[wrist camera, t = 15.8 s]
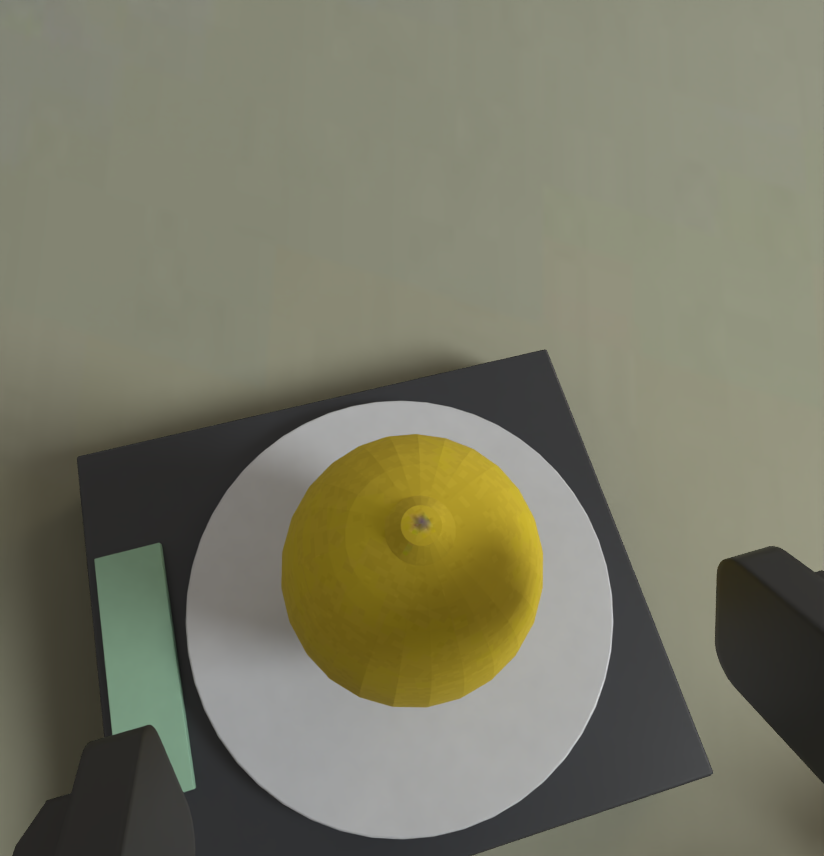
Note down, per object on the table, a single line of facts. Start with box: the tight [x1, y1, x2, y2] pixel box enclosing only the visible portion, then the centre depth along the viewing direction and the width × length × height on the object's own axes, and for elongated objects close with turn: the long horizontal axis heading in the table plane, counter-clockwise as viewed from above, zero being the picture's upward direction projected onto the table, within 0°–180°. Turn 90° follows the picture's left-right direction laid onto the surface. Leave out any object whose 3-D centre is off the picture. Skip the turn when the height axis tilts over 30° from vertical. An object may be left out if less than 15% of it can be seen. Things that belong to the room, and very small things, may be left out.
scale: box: [77, 350, 713, 856], centre depth 20 cm, size 15×13×3 cm
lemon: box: [281, 434, 543, 707], centre depth 15 cm, size 6×6×8 cm
